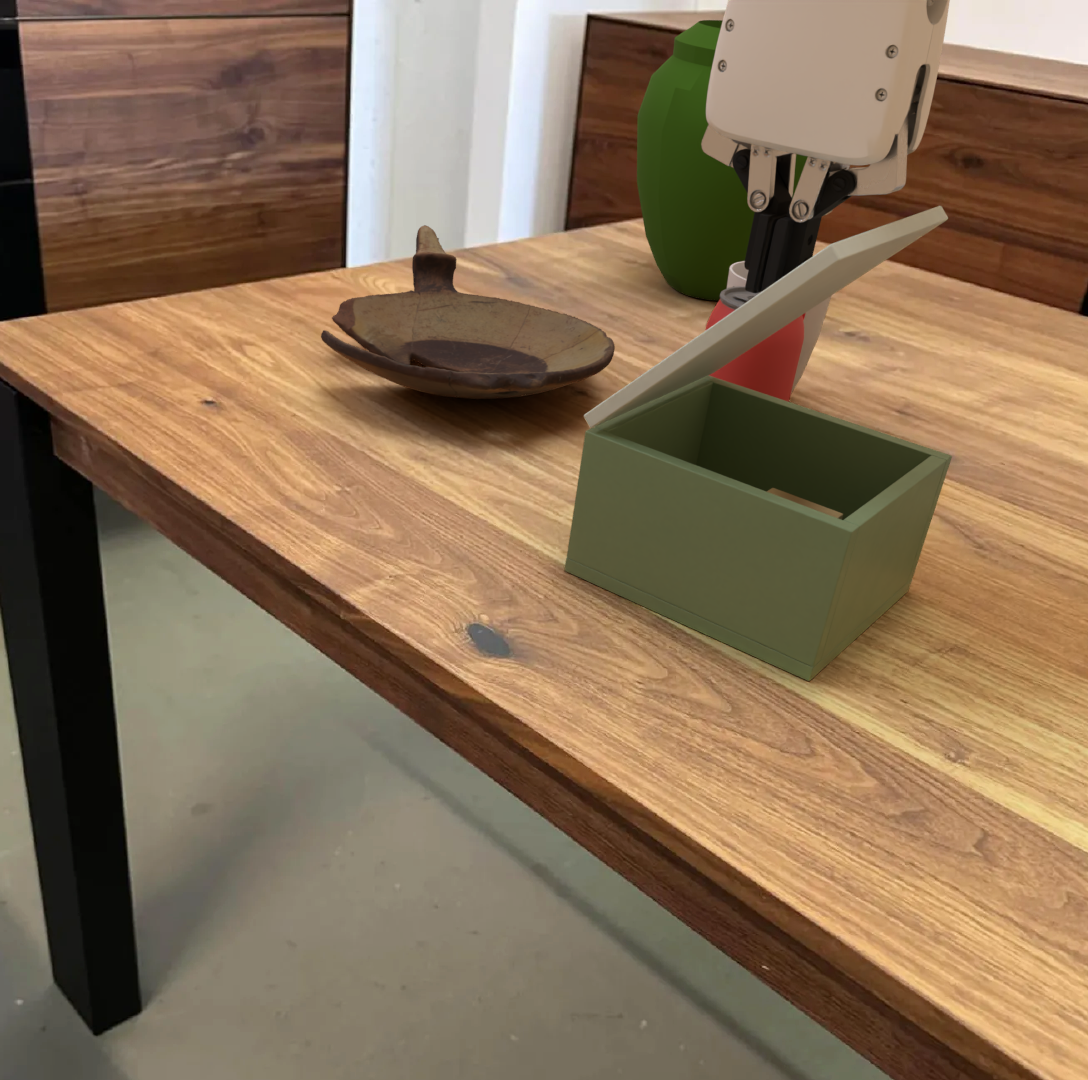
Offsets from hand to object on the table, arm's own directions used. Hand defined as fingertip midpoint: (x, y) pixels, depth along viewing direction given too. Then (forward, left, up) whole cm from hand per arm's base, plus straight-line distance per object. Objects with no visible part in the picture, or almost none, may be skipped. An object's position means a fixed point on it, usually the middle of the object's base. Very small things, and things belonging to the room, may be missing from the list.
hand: (771, 289), depth 64 cm
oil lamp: (+30, -14, -17) cm, 37 cm away
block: (-4, 0, -16) cm, 17 cm away
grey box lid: (0, 0, -2) cm, 2 cm away
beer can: (+7, -15, -17) cm, 24 cm away
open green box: (-2, 0, -17) cm, 17 cm away
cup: (+12, -29, -17) cm, 36 cm away
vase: (+30, -53, -17) cm, 63 cm away
